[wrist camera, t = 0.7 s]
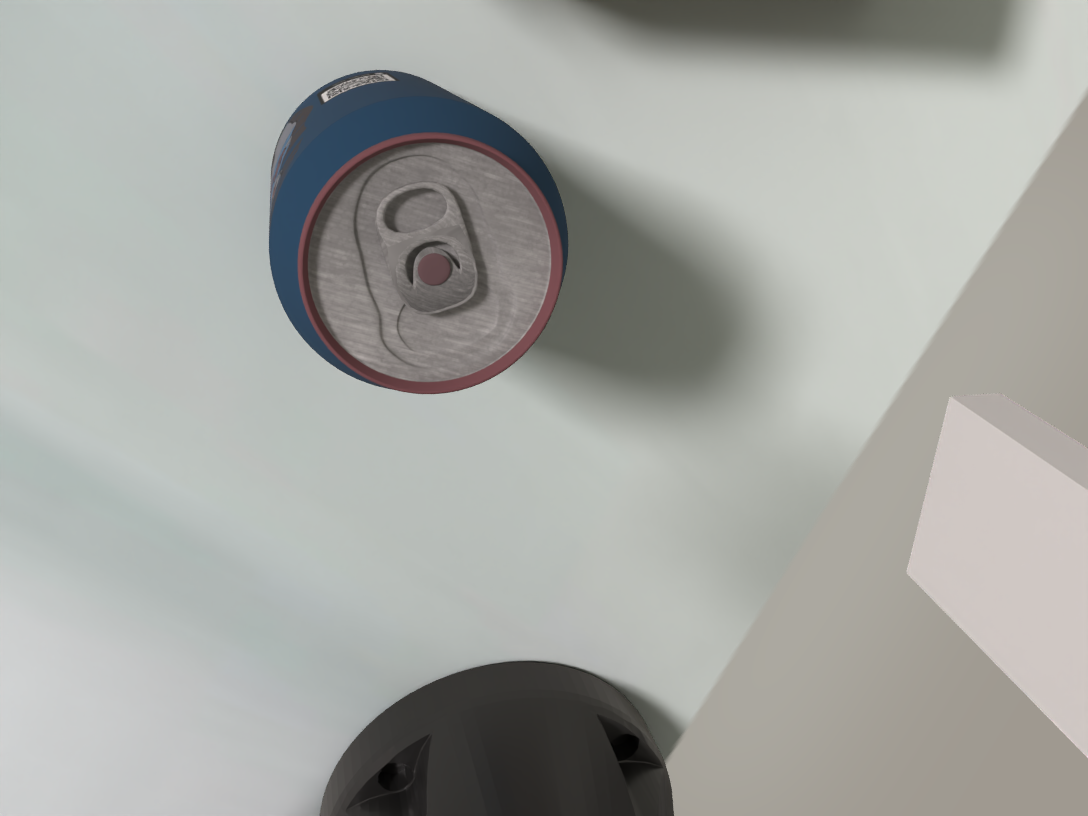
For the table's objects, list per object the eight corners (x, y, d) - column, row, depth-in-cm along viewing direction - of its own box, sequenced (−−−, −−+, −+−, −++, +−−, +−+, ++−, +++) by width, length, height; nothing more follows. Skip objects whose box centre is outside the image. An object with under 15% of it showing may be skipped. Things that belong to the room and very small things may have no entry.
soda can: (509, 247, 33) (618, 363, 23) (315, 310, 32) (334, 461, 22) (452, 40, 30) (547, 60, 20) (236, 103, 29) (213, 160, 19)
